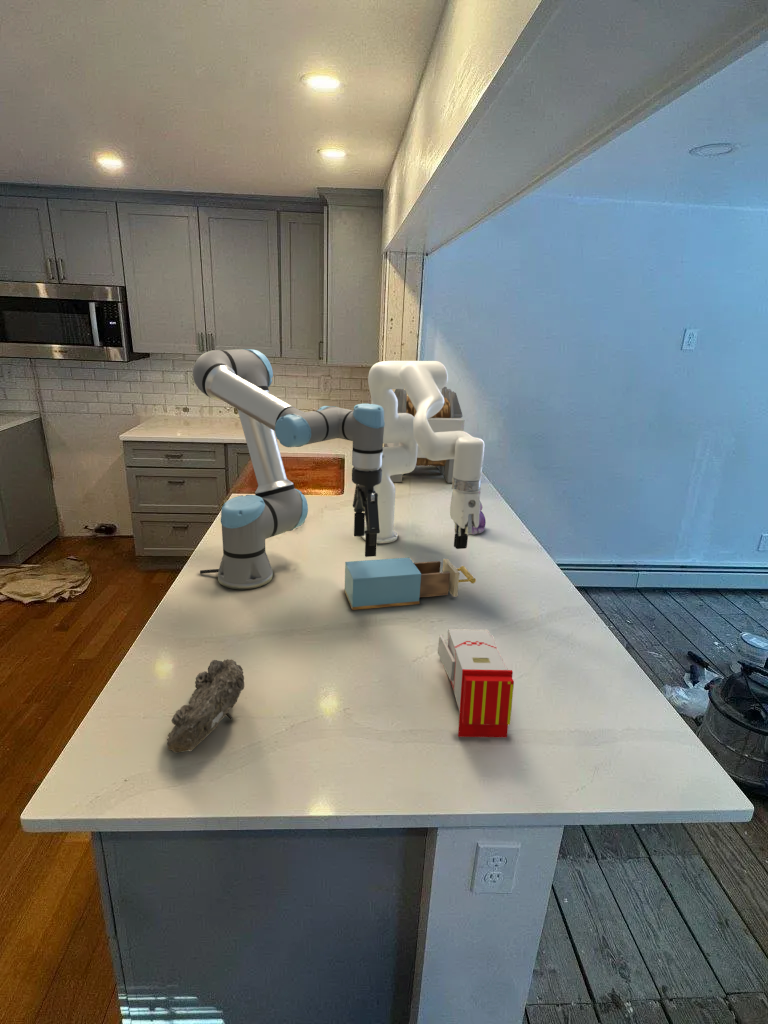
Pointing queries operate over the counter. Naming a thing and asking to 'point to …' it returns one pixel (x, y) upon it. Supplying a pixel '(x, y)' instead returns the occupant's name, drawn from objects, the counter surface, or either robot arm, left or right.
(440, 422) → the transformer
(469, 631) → the toy
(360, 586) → the cabinet
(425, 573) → the drawer
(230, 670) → the fossil
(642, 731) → the counter surface
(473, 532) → the figurine
